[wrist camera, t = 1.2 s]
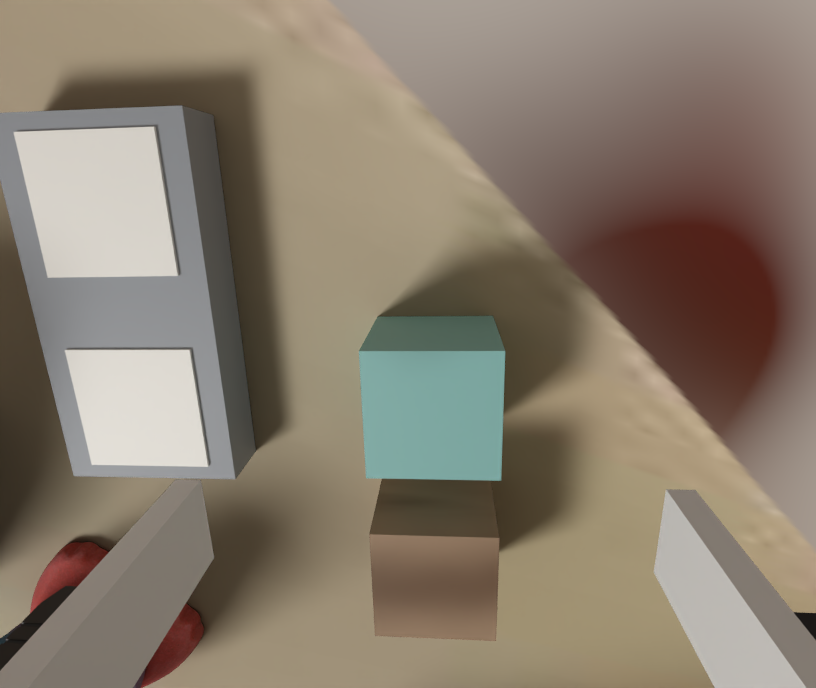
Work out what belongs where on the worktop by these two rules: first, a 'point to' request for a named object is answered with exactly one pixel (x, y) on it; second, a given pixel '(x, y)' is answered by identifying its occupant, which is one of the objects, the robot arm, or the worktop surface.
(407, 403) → the teal block
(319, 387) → the worktop surface
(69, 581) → the stacking bear
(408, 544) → the walnut block
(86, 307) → the plinth
